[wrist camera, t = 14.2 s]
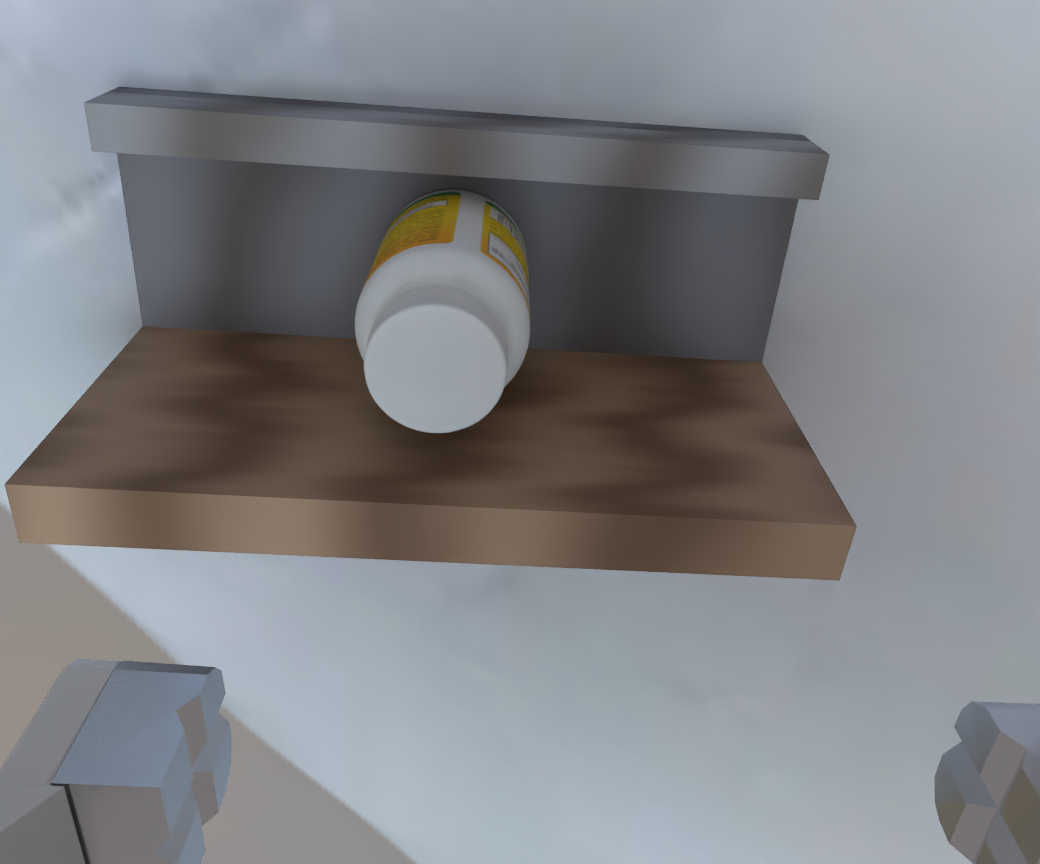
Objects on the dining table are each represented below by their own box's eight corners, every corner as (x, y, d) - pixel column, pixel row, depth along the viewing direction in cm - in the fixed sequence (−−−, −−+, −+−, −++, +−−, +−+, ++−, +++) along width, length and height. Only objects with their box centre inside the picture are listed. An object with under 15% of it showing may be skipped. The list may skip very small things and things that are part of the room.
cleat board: (803, 135, 32) (946, 240, 22) (745, 395, 37) (839, 580, 27) (119, 86, 31) (-75, 173, 21) (158, 362, 36) (19, 542, 26)
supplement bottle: (546, 212, 32) (561, 314, 24) (501, 342, 35) (501, 475, 27) (400, 165, 32) (363, 255, 23) (365, 302, 34) (321, 427, 26)
